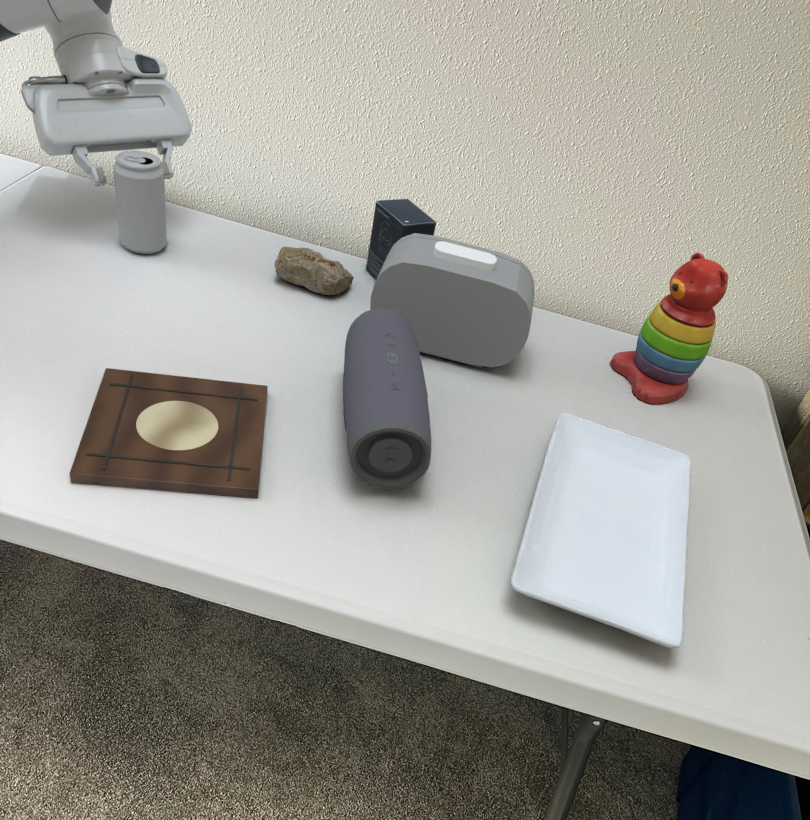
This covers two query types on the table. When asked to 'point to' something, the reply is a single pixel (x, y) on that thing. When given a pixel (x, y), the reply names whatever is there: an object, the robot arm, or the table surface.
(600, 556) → the tray
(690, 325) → the stacking bear
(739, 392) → the table surface
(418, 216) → the box
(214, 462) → the board
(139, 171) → the beverage can
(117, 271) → the table surface
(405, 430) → the bluetooth speaker
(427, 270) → the grey rounded block
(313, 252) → the rock
